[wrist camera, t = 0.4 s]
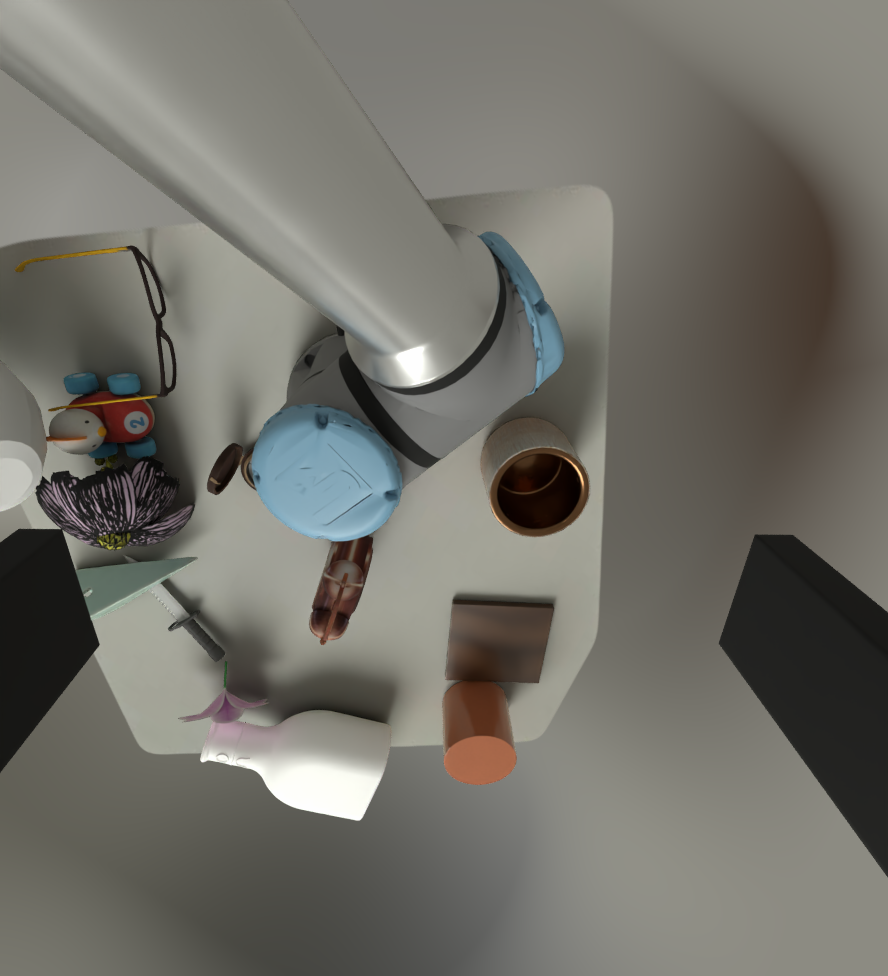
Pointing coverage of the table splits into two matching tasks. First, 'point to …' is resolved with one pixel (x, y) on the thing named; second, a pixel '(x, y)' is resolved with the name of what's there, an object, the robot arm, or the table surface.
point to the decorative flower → (115, 504)
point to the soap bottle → (19, 440)
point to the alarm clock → (340, 587)
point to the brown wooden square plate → (497, 641)
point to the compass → (230, 468)
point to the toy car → (104, 418)
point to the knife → (185, 620)
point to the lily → (225, 707)
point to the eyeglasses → (157, 317)
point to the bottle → (309, 758)
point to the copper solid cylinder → (477, 733)
